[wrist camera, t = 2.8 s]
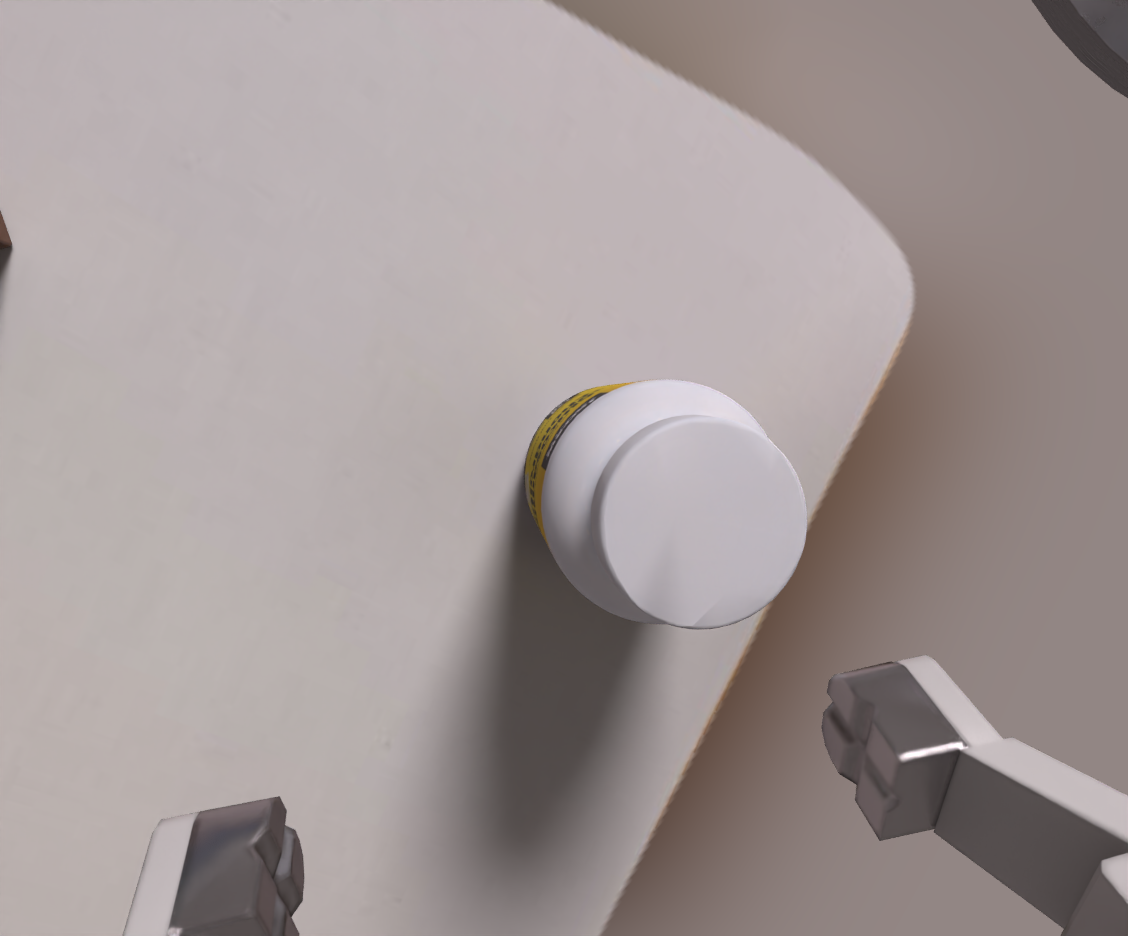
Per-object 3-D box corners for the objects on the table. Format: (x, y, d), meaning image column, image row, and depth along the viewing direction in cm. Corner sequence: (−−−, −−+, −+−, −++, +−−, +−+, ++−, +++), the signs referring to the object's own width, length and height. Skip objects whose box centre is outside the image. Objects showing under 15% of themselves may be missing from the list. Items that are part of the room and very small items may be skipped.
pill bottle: (593, 349, 27) (681, 307, 16) (728, 456, 28) (905, 490, 17) (485, 493, 27) (494, 556, 16) (624, 594, 28) (730, 726, 16)
